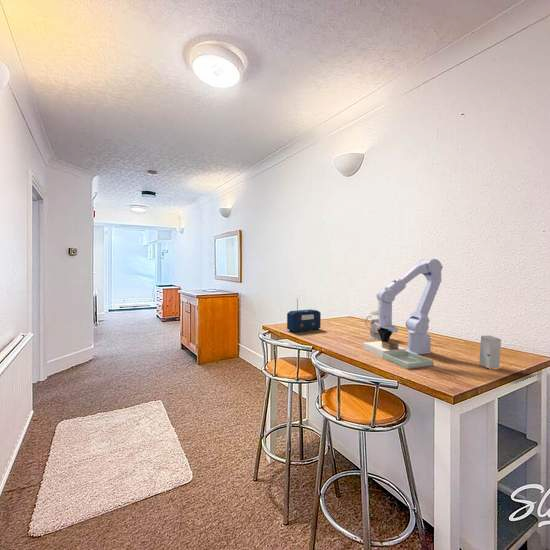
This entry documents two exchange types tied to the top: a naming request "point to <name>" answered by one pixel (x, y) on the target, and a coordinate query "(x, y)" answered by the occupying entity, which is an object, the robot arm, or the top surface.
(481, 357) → the skincare box
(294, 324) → the radio
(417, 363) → the tray
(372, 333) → the french press
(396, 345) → the walnut tile
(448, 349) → the top surface
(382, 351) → the board
